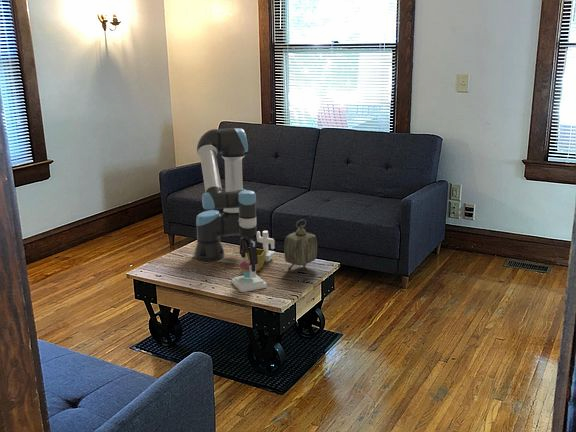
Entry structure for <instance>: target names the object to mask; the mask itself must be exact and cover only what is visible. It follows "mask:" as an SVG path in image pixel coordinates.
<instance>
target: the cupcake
mask: <svg viewBox="0 0 576 432" xmlns="http://www.w3.org/2000/svg"><path fill="white" fill-rule="evenodd" d="M245 255H246V261H244V262H242V261H241V263H240V264H239V270H240V271H241V272H242V274H243V275H244V277H246V278H250V270H249V264H250V260H248V259H247V253H246V254H245ZM257 269H258V264H256V270H257ZM243 275H242V276H243Z"/></svg>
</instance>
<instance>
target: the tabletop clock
mask: <svg viewBox="0 0 576 432" xmlns="http://www.w3.org/2000/svg"><path fill="white" fill-rule="evenodd" d="M301 221H302V222H305V223H304V225H302V224H300V225H299V226H298V224H299V223H300V222H301ZM306 225H307V221H306V219H304V218H301V219H299V220H297V221H296V223H295V227H296V230H295V231H294V232H292V233H289V234H288V235H286V237H285V238H284V245H283V247H284V248H283V249H284V250H283V252H284V255H283V256H284V260H285V262H286V263H289V264H291V265H290V267H289V266H288V268H287V271H289V272H290V271H292V268H293V267H294V266H299V267H301V266H303V267H302V270H303V271H306V270H307V267H305V266H306V265H308V264H310V263H312V262H314V261H315V260H316V259H317V255H318V239H317V236H316V235H315V233H314V234H313V233H311V232H307V231H306V229H305V228H304V227H306Z"/></svg>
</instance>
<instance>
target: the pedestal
mask: <svg viewBox="0 0 576 432" xmlns="http://www.w3.org/2000/svg"><path fill="white" fill-rule="evenodd" d="M231 283H232V284H233V286H235V288H237V290H239V291H240V293H246V292H250V291H256V290H260V289H265V288H267V287H268V286H267V285H268V283H267V282H266V281H265V280H263V279H262V278H261V277H260V276H259V275H257V274H256V278H246V277H244V275H239V276H234V277H233V278H231Z"/></svg>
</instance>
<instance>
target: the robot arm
mask: <svg viewBox="0 0 576 432" xmlns="http://www.w3.org/2000/svg"><path fill="white" fill-rule="evenodd" d="M248 151H249V144H248V139H247V134H246V132H245V130H244V129H243V128H238V127H237V128H236V127H235V128H234V127H232V128H213V129H210V130H207V131H206V132H205V133H204V134H203V135H202V136H201V137H200V138H199V140H198V143H197V145H196V152H197V157H198V158H199V159H200V164H201V172H202V176H203V177H202V178H203V186H204V193H202V195H201V202H202V208H203V210H205V211H202V212H200V213H199V214H197V215H196V219H195V220H196V222H195V226H196V239H197V240H196V241H197V243H196V246H195V250H194V255H193V256H194V258H195V260H197V261H200V262H215V261H220V260H221V259H223V258H224V257H225V250H224V247H223V245H222V242H221V237H231V236H239V252H238V253H239V255H240V256H241V263H242V262H244V261H246V255H245V254H246V253H248V254H249V259H250V264H249V270H250V278H256V275H257V271H256V264H258V258H257V249H258V248H257V246H258V245H257V244H258V242H257V241H255V239H254V237H255V236H257V195H256V192H255V191H253V190H249V189H245V188H243V187H244V186H243V159H244V157H245V156H246V154H245V153H247V152H248ZM218 154H221V155H220V156H221V158H222V159H223V160H224V179H225V181H224V182H225V191H223V188H222V182H221V175H220V171H219V165H218V159H217V155H218ZM219 210H223V213H220V211H219ZM248 254H247V256H248ZM247 259H248V257H247Z"/></svg>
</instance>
